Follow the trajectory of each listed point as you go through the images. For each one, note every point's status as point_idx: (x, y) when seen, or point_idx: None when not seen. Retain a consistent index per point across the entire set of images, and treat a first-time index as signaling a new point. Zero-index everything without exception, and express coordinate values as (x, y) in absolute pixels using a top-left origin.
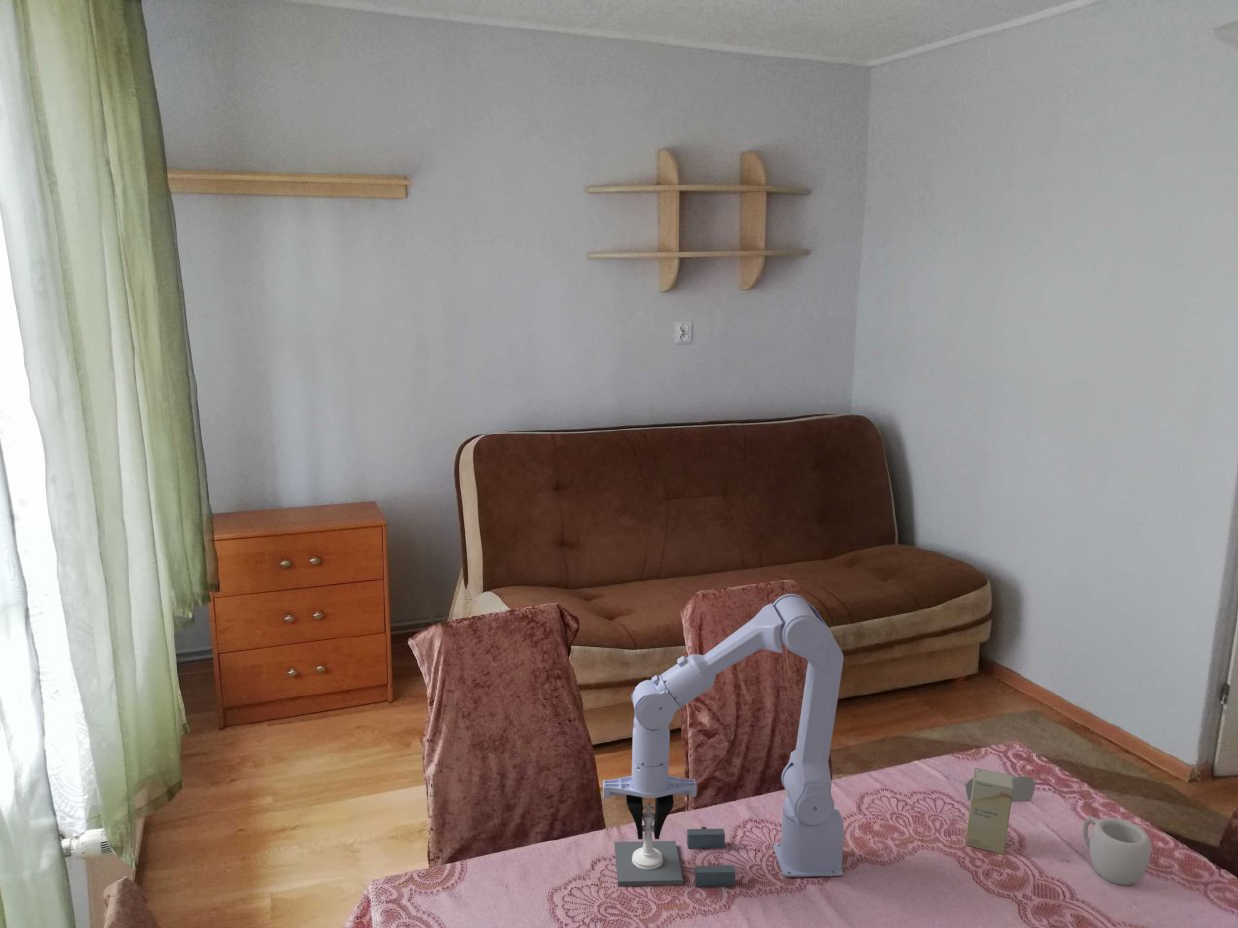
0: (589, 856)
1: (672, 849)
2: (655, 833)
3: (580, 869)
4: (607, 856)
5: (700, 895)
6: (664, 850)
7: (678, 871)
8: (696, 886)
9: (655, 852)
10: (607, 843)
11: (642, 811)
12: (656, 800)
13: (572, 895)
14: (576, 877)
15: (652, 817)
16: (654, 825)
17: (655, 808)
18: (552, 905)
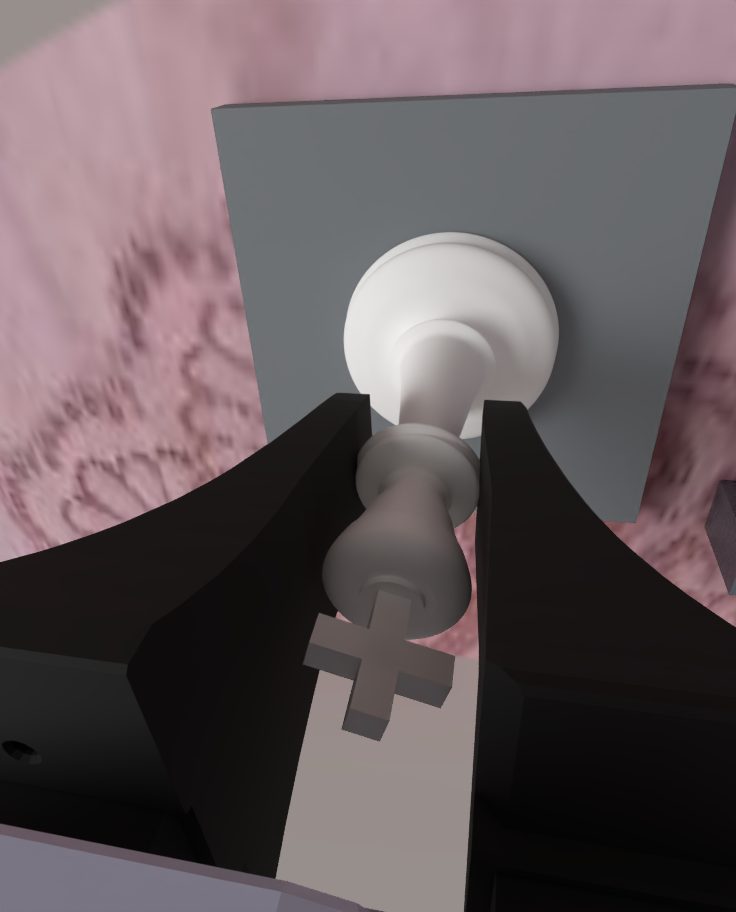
0: (88, 226)
1: (668, 221)
2: (475, 553)
3: (75, 343)
4: (196, 229)
5: (702, 579)
6: (597, 233)
7: (633, 457)
8: (707, 529)
9: (503, 353)
10: (169, 63)
11: (279, 833)
12: (474, 772)
13: (97, 507)
14: (76, 401)
15: (433, 633)
16: (481, 470)
17: (488, 545)
18: (42, 546)
